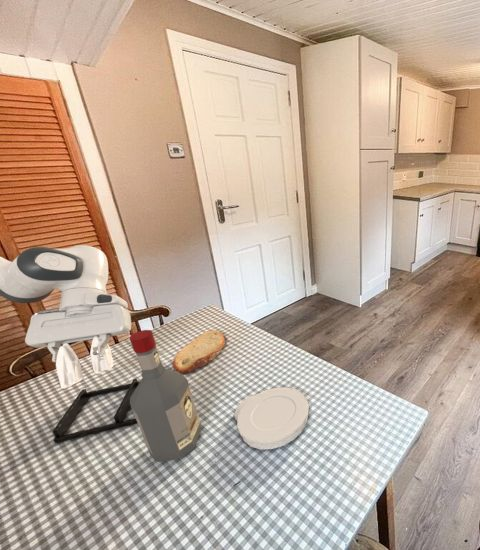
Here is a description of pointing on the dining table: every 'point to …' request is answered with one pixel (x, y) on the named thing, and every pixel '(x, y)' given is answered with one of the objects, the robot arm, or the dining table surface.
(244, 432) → the lid
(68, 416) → the dish rack
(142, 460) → the dining table surface
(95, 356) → the shaker set
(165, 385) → the liquor
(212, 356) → the bread slice
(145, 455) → the dining table surface
